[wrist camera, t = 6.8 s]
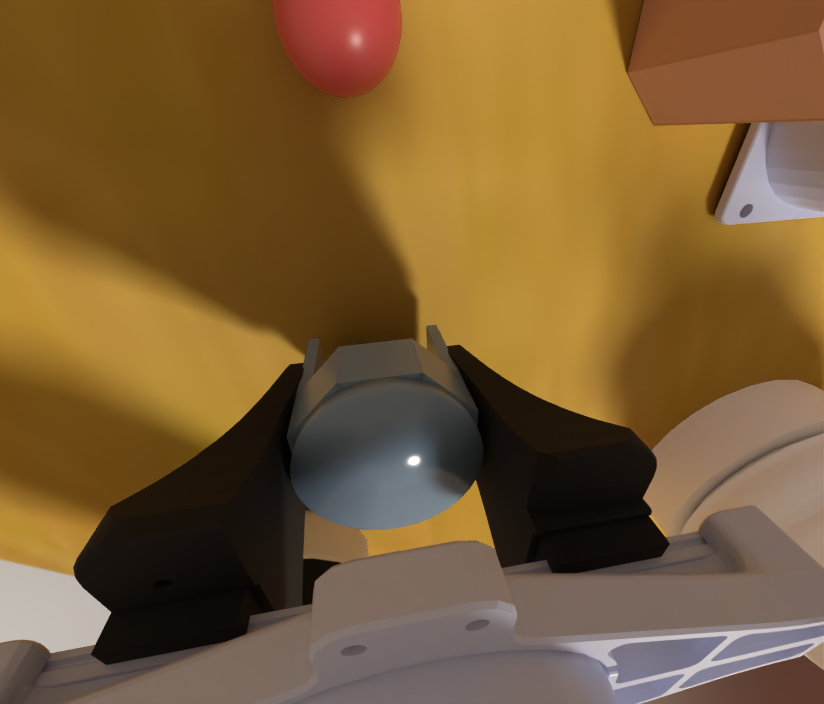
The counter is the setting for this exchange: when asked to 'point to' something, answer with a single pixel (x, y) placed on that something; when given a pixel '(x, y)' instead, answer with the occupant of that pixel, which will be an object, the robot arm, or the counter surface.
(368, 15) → the red marble
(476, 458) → the slate-blue dome with prongs
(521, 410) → the robot arm
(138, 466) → the counter surface
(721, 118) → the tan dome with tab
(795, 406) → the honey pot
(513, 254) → the counter surface
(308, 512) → the supplement can
